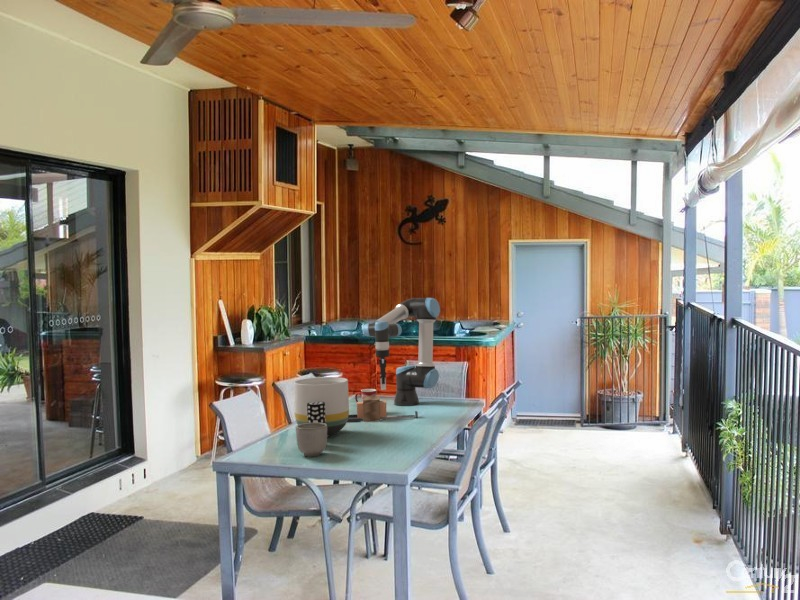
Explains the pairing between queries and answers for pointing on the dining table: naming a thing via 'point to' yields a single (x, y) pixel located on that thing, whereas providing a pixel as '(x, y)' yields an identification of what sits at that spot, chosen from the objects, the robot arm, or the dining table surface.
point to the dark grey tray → (353, 418)
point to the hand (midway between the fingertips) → (383, 388)
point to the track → (399, 416)
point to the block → (382, 409)
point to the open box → (371, 408)
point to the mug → (366, 393)
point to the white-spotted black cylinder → (316, 412)
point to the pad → (397, 419)
